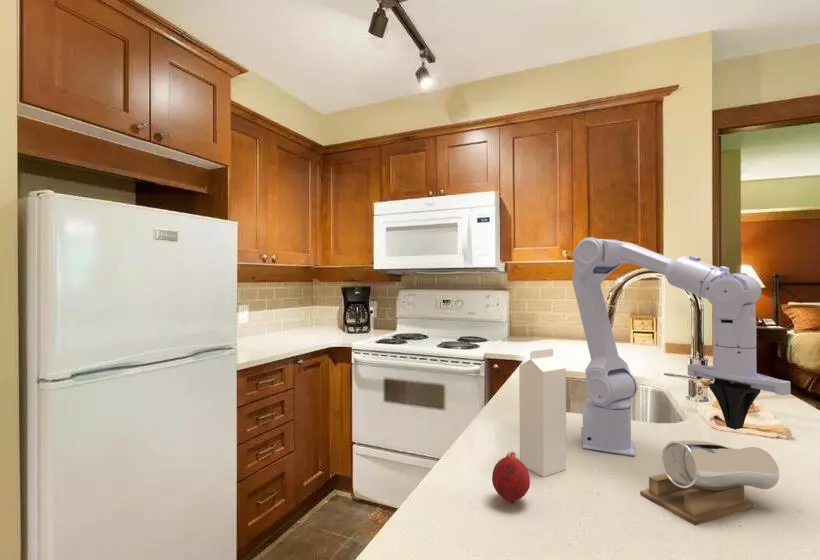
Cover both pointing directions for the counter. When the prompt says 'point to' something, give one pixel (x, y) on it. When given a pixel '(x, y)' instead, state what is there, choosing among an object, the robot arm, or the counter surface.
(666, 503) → the cradle
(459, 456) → the counter surface
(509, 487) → the red oval fruit
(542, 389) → the milk
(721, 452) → the beer glass
